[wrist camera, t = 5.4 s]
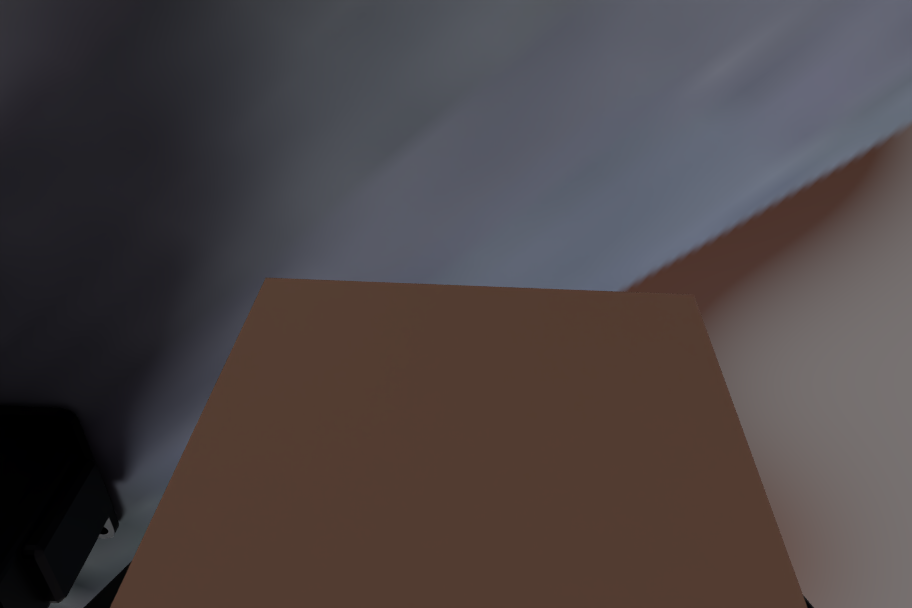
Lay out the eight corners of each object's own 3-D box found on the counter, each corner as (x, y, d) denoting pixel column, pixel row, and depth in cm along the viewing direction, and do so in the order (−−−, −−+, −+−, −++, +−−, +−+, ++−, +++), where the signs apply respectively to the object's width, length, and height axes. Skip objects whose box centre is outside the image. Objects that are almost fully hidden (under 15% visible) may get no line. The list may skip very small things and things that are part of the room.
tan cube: (306, 549, 12) (202, 958, 8) (265, 277, 9) (68, 694, 5) (631, 566, 12) (700, 993, 8) (693, 295, 9) (855, 742, 5)
